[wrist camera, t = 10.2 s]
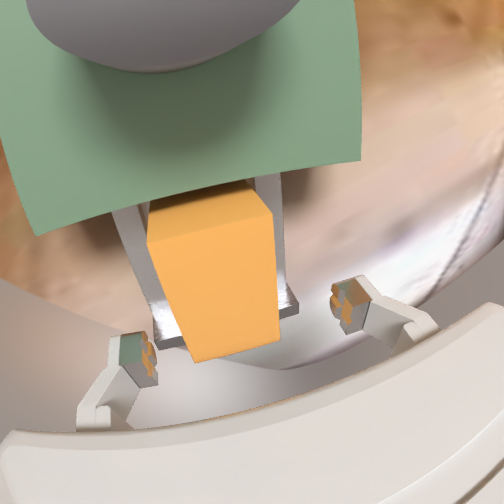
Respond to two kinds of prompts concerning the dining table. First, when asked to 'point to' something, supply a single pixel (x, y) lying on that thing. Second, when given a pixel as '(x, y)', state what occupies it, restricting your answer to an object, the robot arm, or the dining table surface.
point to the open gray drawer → (134, 241)
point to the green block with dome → (170, 97)
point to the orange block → (217, 267)
